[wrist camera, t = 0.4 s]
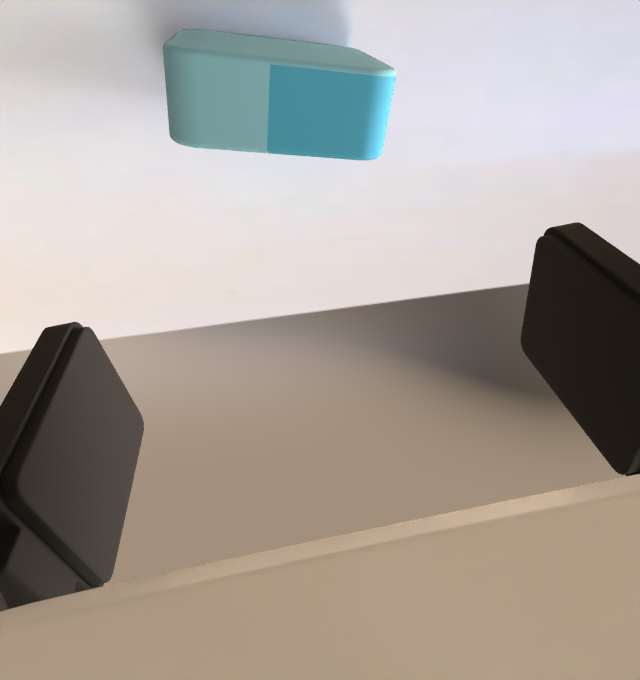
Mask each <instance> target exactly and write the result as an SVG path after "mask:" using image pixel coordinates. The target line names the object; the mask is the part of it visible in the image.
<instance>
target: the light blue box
mask: <svg viewBox="0 0 640 680" xmlns="http://www.w3.org/2000/svg"><path fill="white" fill-rule="evenodd" d="M163 55H164V67H165V80H166V93H167V105H168V118H169V131H170V137H171V138H172V140H174V141H175V142H177V143H179V144H181V145H185V146H189V147H195V148H207V149H220V150H233V151H246V152H259V153H272V154H286V155H299V156H312V157H325V158H338V159H351V160H373V159H376V158H378V157H380V156H381V154H382V150H383V145H384V139H385V134H386V128H387V123H388V117H389V112H390V106H391V101H392V95H393V90H394V84H395V79H396V70H395V69H394V68H392V67H390V66H389V65H387V64H385V63H383V62H381V61H379V60H377V59H375V58H373V57H372V56H370V55H368V54H366V53H364V52H362V51H360V50H358V49H354V48H349V47H343V46H336V45H328V44H319V43H311V42H302V41H294V40H286V39H277V38H269V37H261V36H252V35H244V34H235V33H227V32H219V31H210V30H201V29H184V30H182V31H181V32H179V33H178V34H177V35H175V36H174V37H173V38H171V39H170V40H169V41H167V42H166V43H165V44H164V45H163Z"/></svg>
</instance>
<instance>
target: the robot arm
mask: <svg viewBox="0 0 640 680" xmlns="http://www.w3.org/2000/svg"><path fill="white" fill-rule="evenodd" d="M521 345H522V349H523V351H524V353H525V355H526V356H527V357H528V358H529V360H530V361H531V362H532V364H533V365H534V366H535V368H536V369H537V370H538V371H539V373H540V374H541V375H542V377H543V378H544V379H545V380H546V382H547V383H548V384H549V386H550V387H551V388H552V390H553V391H554V392H555V394H556V395H557V396H558V398H559V399H560V400H561V401H562V403H563V404H564V405H565V407H566V408H567V409H568V410H569V412H570V413H571V414H572V416H573V417H574V418H575V420H576V421H577V422H578V423H579V425H580V426H581V427H582V429H583V430H584V431H585V433H586V434H587V435H588V436H589V438H590V439H591V440H592V442H593V443H594V444H595V446H596V447H597V448H598V450H599V451H600V452H601V453H602V455H603V456H604V457H605V459H606V460H607V461H608V462H609V464H610V465H611V466H612V468H613V469H614V470H615V471H616V472H618V473H619V474H623V475H624V474H625V475H626V476H627V477H622V478H617V479H613V480H607V481H602V482H597V483H592V484H587V485H582V486H577V487H573V488H568V489H563V490H558V491H553V492H548V493H543V494H538V495H534V496H529V497H523V498H518V499H514V500H509V501H504V502H499V503H494V504H489V505H484V506H479V507H474V508H469V509H465V510H460V511H455V512H450V513H446V514H441V515H436V516H431V517H427V518H421V519H417V520H412V521H407V522H402V523H397V524H393V525H388V526H383V527H378V528H373V529H369V530H364V531H359V532H354V533H350V534H345V535H340V536H335V537H330V538H325V539H321V540H316V541H312V542H306V543H302V544H297V545H292V546H288V547H283V548H278V549H273V550H269V551H264V552H260V553H255V554H250V555H246V556H241V557H236V558H231V559H227V560H222V561H217V562H213V563H208V564H204V565H199V566H194V567H189V568H185V569H180V570H175V571H170V572H166V573H161V574H156V575H152V576H147V577H142V578H138V579H134V580H129V581H125V582H120V583H116V584H112V585H107V586H103V584H104V583H106V582H108V581H109V580H110V579H111V577H112V574H113V571H114V566H115V562H116V557H117V552H118V548H119V543H120V538H121V533H122V529H123V524H124V520H125V515H126V510H127V505H128V501H129V497H130V492H131V487H132V483H133V478H134V473H135V468H136V464H137V459H138V455H139V449H140V445H141V441H142V436H143V431H144V423H143V419H142V416H141V414H140V412H139V410H138V408H137V406H136V405H135V403H134V401H133V400H132V398H131V396H130V394H129V393H128V391H127V389H126V387H125V386H124V384H123V382H122V380H121V379H120V377H119V375H118V373H117V372H116V370H115V368H114V366H113V365H112V363H111V361H110V359H109V358H108V356H107V354H106V353H105V351H104V349H103V348H102V346H101V344H100V342H99V340H98V339H97V337H96V335H95V333H94V332H93V330H92V329H91V328H89V327H83V326H82V325H80V324H79V323H77V322H72V323H67V324H62V325H57V326H52V327H48V328H45V329H44V330H43V332H42V334H41V335H40V337H39V339H38V341H37V342H36V344H35V346H34V348H33V349H32V351H31V353H30V355H29V357H28V358H27V360H26V362H25V364H24V365H23V367H22V369H21V371H20V372H19V374H18V376H17V378H16V379H15V381H14V383H13V385H12V387H11V388H10V390H9V392H8V394H7V395H6V397H5V399H4V401H3V402H2V404H1V406H0V680H640V264H638V263H637V262H636V261H634V260H633V259H631V258H630V257H628V256H627V255H626V254H624V253H623V252H621V251H620V250H619V249H617V248H616V247H614V246H613V245H611V244H610V243H609V242H607V241H606V240H604V239H603V238H601V237H600V236H599V235H597V234H596V233H594V232H593V231H592V230H590V229H589V228H587V227H586V226H584V225H583V224H581V223H579V222H578V223H571V224H566V225H561V226H556V227H551V228H549V229H547V230H546V232H545V233H544V236H542V237H540V238H539V239H538V240H537V243H536V248H535V254H534V260H533V266H532V272H531V278H530V284H529V291H528V296H527V302H526V309H525V315H524V321H523V327H522V333H521Z"/></svg>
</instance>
